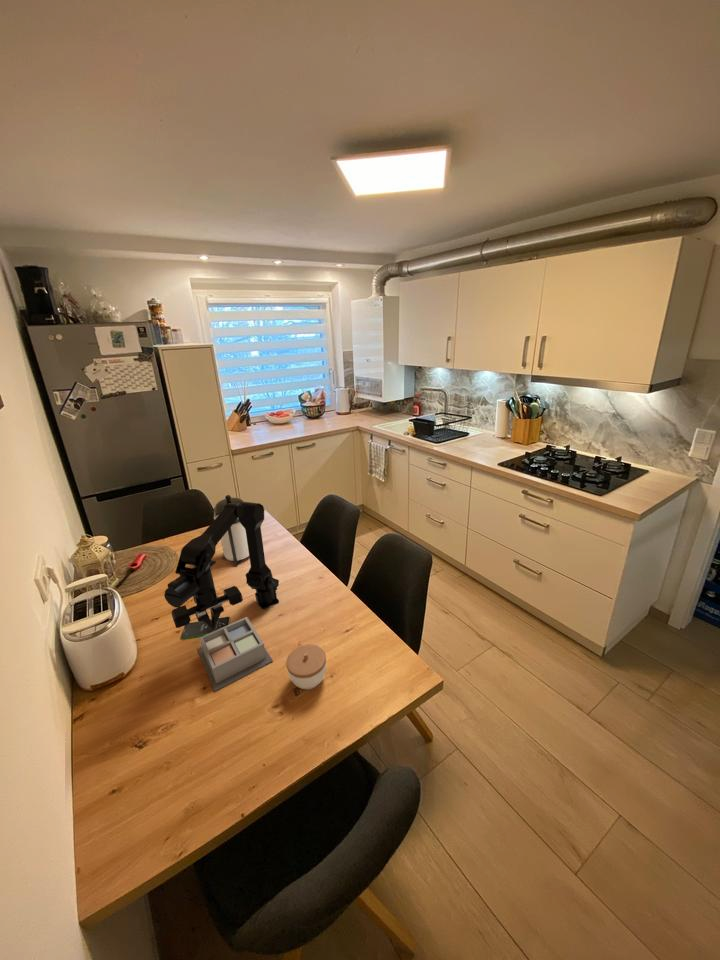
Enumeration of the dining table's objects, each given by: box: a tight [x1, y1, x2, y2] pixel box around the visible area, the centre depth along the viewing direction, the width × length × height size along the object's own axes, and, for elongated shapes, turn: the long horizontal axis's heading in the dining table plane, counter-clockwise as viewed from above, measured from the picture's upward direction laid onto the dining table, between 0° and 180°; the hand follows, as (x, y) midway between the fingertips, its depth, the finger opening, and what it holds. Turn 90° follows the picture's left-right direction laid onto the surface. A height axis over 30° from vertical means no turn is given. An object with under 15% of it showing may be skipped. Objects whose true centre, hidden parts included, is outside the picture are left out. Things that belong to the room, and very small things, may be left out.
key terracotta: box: [211, 645, 235, 665], centre depth 111 cm, size 6×6×3 cm
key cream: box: [206, 635, 227, 650], centre depth 117 cm, size 6×6×3 cm
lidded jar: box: [285, 643, 327, 691], centre depth 105 cm, size 11×11×9 cm
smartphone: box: [180, 616, 231, 640], centre depth 128 cm, size 8×1×15 cm
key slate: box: [229, 625, 249, 639], centre depth 120 cm, size 6×6×3 cm
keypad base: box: [197, 616, 273, 692], centre depth 115 cm, size 17×19×6 cm
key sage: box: [235, 635, 258, 653], centre depth 114 cm, size 6×6×3 cm
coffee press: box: [213, 494, 249, 567], centre depth 166 cm, size 17×16×30 cm
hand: (213, 628), depth 114 cm, fingers closed
